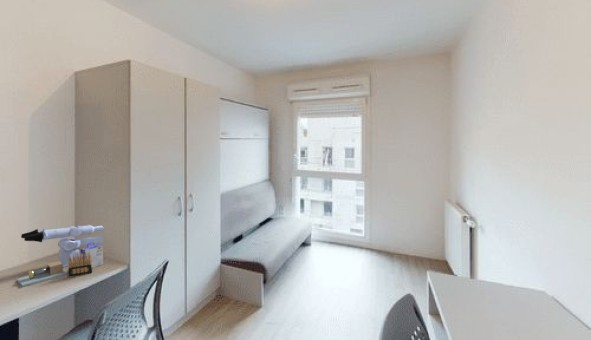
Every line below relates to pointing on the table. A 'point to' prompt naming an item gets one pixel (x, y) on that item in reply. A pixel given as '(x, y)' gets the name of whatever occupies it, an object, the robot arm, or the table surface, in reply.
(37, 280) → the mounting board
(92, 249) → the ink cartridge box
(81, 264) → the ammunition clip
